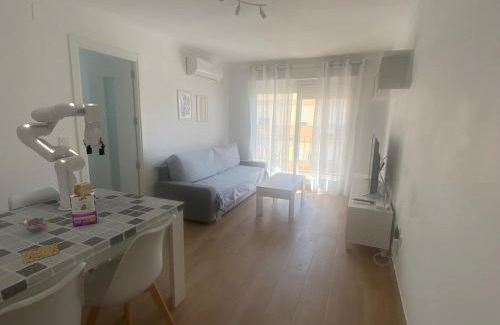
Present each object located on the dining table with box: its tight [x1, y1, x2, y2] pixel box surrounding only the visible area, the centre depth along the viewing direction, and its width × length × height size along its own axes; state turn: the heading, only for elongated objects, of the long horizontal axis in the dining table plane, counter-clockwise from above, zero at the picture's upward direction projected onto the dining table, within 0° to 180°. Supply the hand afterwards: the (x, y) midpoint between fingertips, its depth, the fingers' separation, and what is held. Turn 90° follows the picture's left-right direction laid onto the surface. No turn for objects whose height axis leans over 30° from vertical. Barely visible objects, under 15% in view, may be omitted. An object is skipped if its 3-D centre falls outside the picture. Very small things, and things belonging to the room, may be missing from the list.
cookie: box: [20, 242, 61, 265], centre depth 107 cm, size 12×12×1 cm
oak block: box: [73, 181, 93, 196], centre depth 134 cm, size 6×6×6 cm
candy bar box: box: [70, 191, 99, 227], centre depth 136 cm, size 11×5×16 cm, turn 118°
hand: (95, 154), depth 151 cm, fingers open, 9 cm apart
